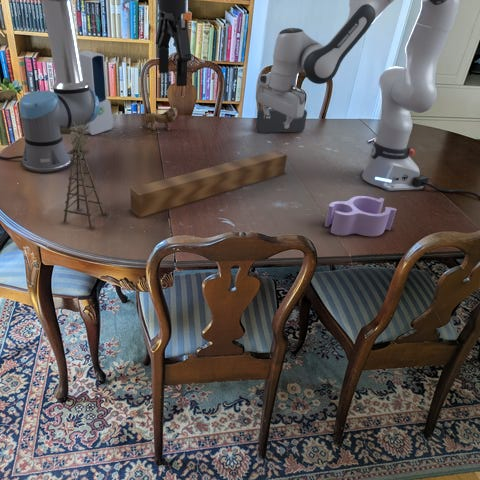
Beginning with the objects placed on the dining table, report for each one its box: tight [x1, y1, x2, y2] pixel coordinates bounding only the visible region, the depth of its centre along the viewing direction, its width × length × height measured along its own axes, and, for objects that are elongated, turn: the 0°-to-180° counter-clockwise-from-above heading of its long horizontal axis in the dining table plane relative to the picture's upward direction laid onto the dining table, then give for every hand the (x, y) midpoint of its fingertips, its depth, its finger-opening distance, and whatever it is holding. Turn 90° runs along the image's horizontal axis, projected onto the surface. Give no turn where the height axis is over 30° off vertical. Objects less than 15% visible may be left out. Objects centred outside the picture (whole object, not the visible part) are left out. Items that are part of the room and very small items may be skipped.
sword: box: [367, 137, 376, 144], centre depth 215 cm, size 31×3×1 cm, turn 126°
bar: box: [129, 149, 288, 218], centre depth 153 cm, size 60×5×7 cm, turn 131°
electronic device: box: [78, 49, 114, 136], centre depth 182 cm, size 12×8×30 cm, turn 148°
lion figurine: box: [142, 107, 178, 132], centre depth 195 cm, size 15×5×9 cm, turn 110°
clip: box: [324, 195, 398, 237], centre depth 141 cm, size 20×12×7 cm, turn 109°
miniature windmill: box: [59, 115, 105, 229], centre depth 124 cm, size 9×8×30 cm
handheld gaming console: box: [255, 108, 308, 134], centre depth 206 cm, size 23×3×10 cm, turn 108°
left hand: (172, 79), depth 132 cm, fingers open, 13 cm apart
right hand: (275, 123), depth 159 cm, fingers open, 8 cm apart
